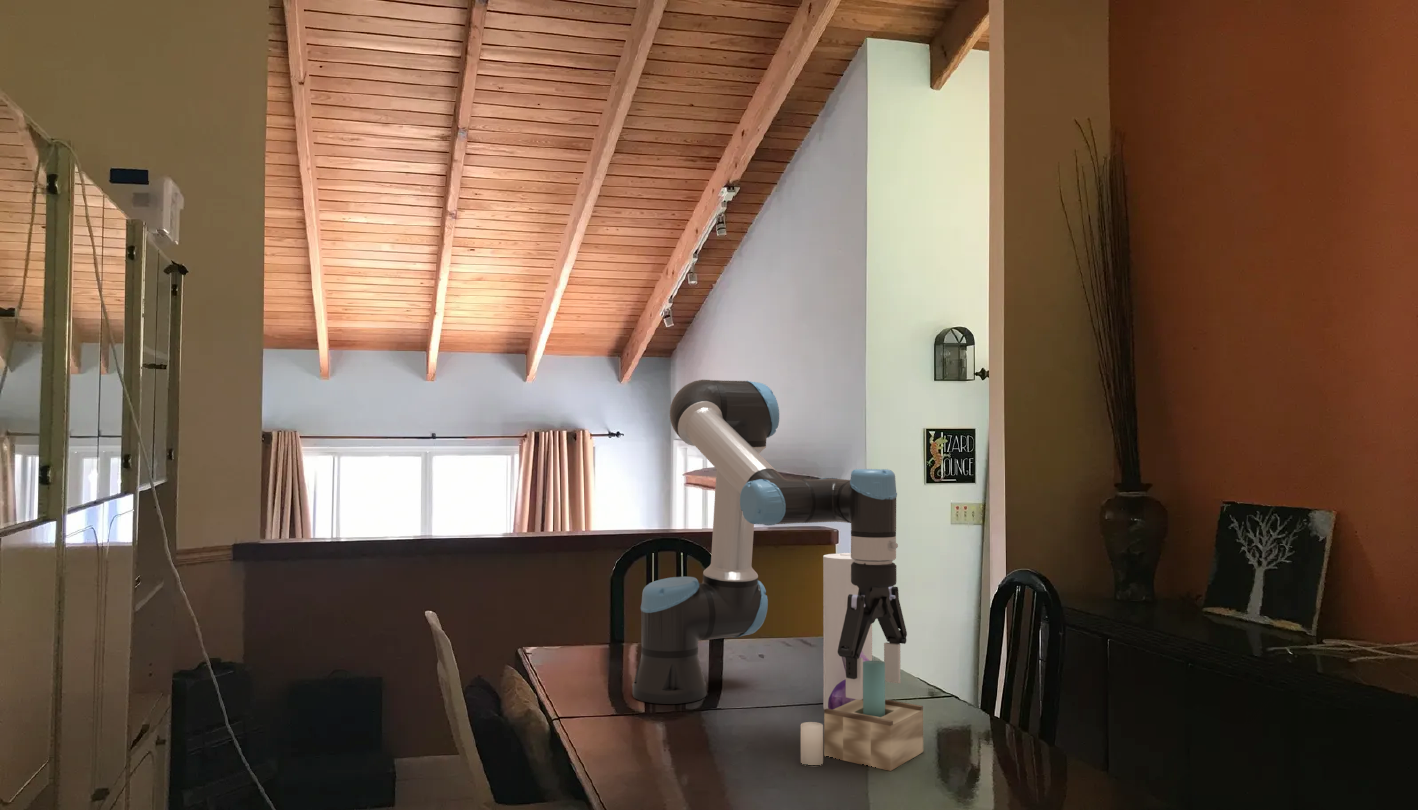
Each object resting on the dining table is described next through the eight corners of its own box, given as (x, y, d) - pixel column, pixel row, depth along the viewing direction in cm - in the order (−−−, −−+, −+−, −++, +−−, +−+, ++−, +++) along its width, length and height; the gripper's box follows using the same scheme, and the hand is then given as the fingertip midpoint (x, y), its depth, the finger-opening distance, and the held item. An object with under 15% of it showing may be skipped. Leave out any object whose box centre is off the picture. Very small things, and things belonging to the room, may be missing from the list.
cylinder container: (871, 716, 185) (870, 556, 186) (821, 713, 187) (821, 555, 188) (873, 704, 194) (872, 551, 195) (825, 701, 196) (825, 550, 197)
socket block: (824, 756, 162) (824, 709, 162) (859, 738, 171) (859, 694, 172) (890, 770, 154) (890, 722, 155) (923, 751, 164) (922, 705, 164)
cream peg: (796, 763, 158) (796, 725, 158) (808, 757, 161) (808, 720, 161) (815, 767, 156) (815, 729, 156) (827, 762, 159) (827, 724, 159)
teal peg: (859, 754, 162) (859, 663, 163) (869, 749, 165) (869, 659, 166) (879, 759, 160) (878, 666, 161) (889, 753, 163) (888, 662, 164)
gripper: (857, 570, 152) (858, 709, 151) (926, 556, 172) (926, 678, 171) (815, 567, 156) (816, 701, 156) (887, 553, 176) (887, 672, 175)
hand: (873, 690), depth 163 cm, fingers open, 13 cm apart
